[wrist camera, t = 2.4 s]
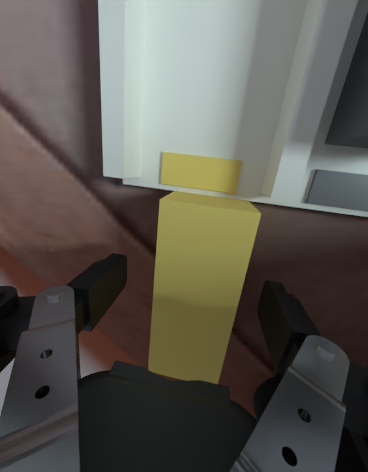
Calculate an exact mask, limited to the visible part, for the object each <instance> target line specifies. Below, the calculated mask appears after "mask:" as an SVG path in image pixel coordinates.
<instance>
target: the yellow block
mask: <svg viewBox="0 0 368 472" xmlns="http://www.w3.org/2000/svg"><path fill="white" fill-rule="evenodd" d="M260 217H261V213H260V212H259V211H258V210H257V209H256V208H255V207H254V206H253V205H252V204H251V203H250V202H249V201H246V200H238V199H231V198H224V197H216V196H209V195H201V194H194V193H187V192H179V191H174V192H172V193H170V194H168V195H166V196H165V197H163V198H161V199H160V203H159V217H158V231H157V246H156V260H155V275H154V289H153V304H152V318H151V333H150V347H149V362H148V370H149V371H151V372H153V373H156V374H160V375H164V376H169V377H173V378H177V379H181V380H185V381H191V380H201V381H206V382H210V383H214V384H218V382H219V378H220V374H221V370H222V366H223V362H224V358H225V354H226V351H227V347H228V343H229V339H230V335H231V331H232V327H233V323H234V319H235V315H236V311H237V307H238V303H239V300H240V296H241V292H242V288H243V284H244V280H245V276H246V272H247V268H248V264H249V260H250V256H251V252H252V248H253V245H254V241H255V237H256V233H257V229H258V225H259V221H260Z"/></svg>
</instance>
